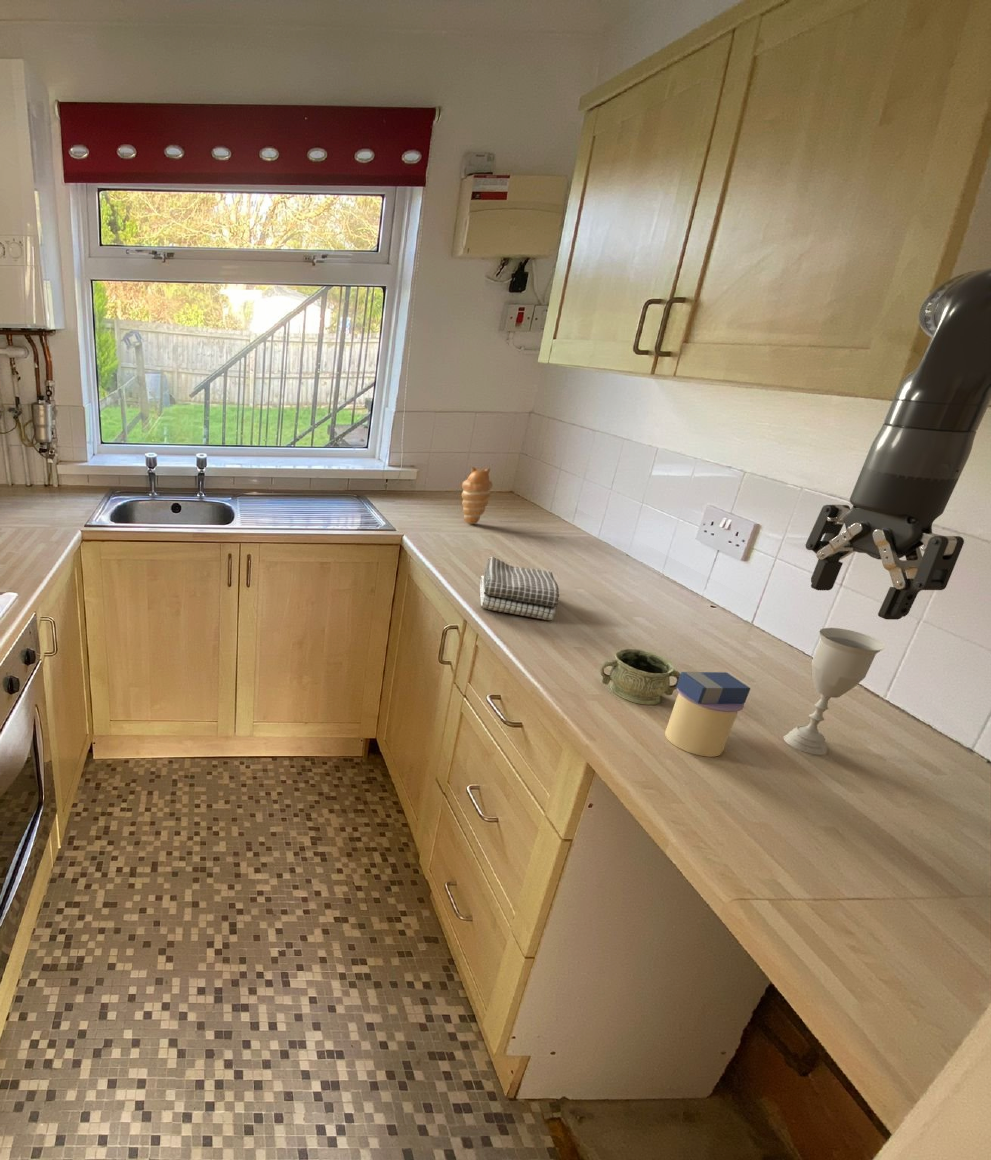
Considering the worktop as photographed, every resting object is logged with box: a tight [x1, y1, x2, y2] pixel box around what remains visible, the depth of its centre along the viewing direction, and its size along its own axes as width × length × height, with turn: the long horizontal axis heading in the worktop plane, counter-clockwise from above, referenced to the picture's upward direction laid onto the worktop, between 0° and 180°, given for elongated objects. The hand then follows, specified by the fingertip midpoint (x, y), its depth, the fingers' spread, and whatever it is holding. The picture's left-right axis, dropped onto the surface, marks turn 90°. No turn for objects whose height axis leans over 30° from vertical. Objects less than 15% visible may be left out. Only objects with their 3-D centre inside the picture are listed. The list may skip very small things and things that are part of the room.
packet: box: [676, 671, 751, 705], centre depth 93 cm, size 7×5×3 cm, turn 92°
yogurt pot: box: [664, 688, 745, 758], centre depth 95 cm, size 8×8×8 cm
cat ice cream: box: [461, 466, 494, 525], centre depth 199 cm, size 9×8×18 cm
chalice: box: [782, 627, 886, 756], centre depth 93 cm, size 7×7×18 cm
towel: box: [478, 556, 560, 621], centre depth 143 cm, size 15×18×8 cm
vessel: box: [599, 648, 681, 706], centre depth 108 cm, size 12×9×6 cm
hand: (852, 602), depth 76 cm, fingers open, 8 cm apart
